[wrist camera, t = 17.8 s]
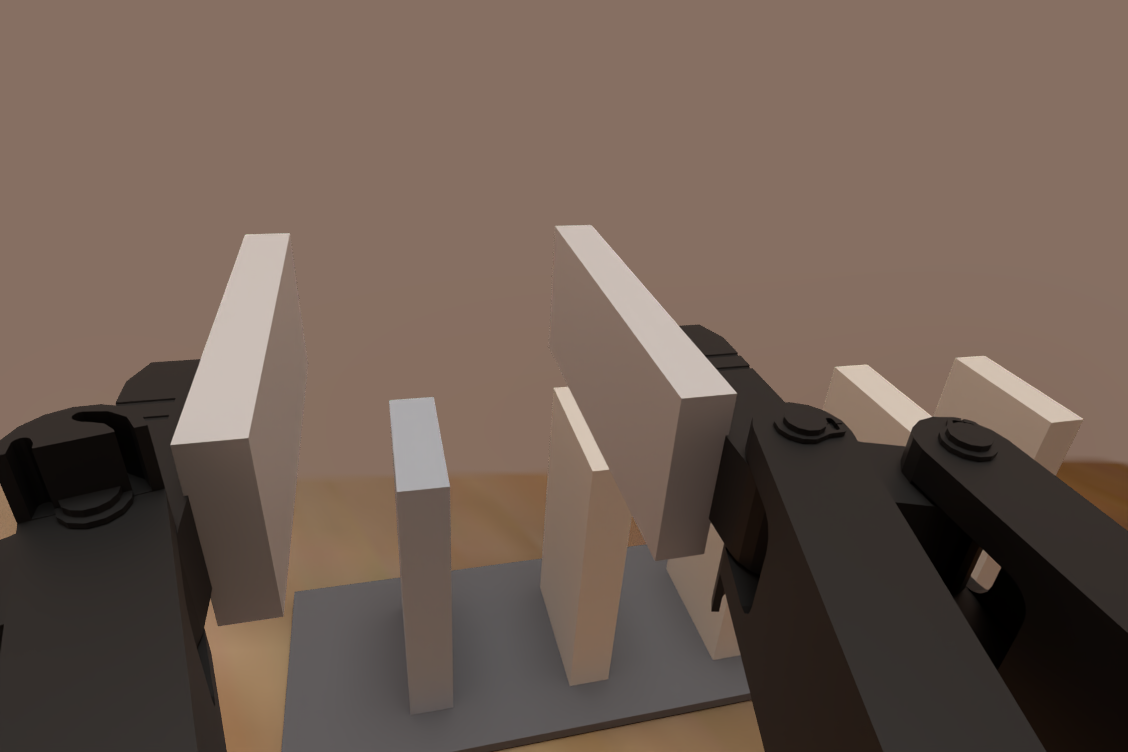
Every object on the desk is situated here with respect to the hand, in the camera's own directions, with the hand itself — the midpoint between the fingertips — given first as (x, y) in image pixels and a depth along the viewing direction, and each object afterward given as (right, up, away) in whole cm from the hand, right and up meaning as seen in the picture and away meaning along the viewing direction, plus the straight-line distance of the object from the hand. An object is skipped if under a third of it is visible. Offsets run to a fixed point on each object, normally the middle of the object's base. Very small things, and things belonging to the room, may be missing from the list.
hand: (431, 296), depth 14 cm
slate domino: (-4, -14, +19) cm, 24 cm away
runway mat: (+9, -14, +23) cm, 28 cm away
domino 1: (+3, -14, +21) cm, 25 cm away
